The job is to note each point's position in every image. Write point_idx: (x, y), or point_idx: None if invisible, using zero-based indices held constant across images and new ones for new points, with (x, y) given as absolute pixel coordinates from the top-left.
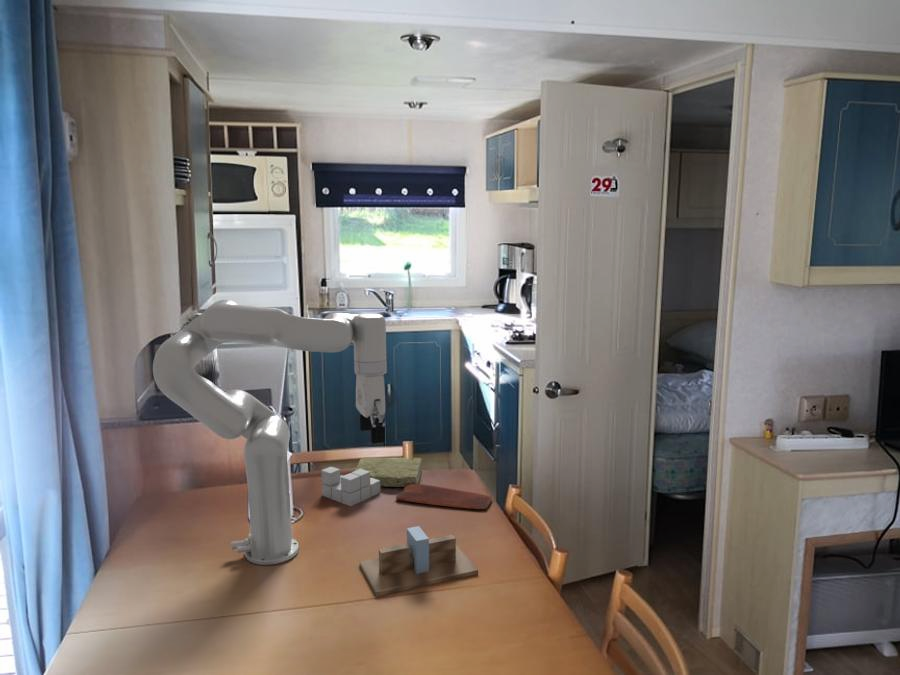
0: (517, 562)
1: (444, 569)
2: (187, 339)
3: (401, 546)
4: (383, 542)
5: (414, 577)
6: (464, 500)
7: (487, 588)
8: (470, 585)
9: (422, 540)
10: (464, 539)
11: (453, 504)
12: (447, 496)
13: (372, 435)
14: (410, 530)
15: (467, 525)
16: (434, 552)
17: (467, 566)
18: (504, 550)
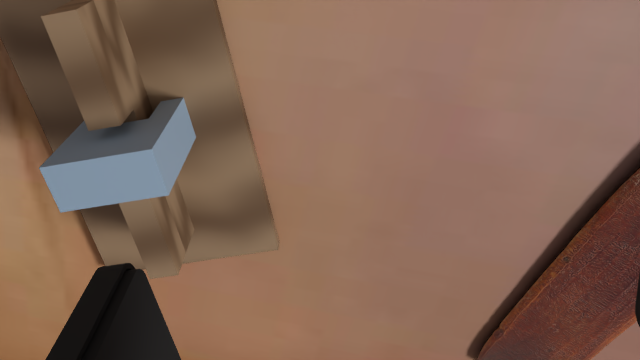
0: None
1: None
2: None
3: (97, 102)
4: (357, 30)
5: (67, 103)
6: (546, 327)
7: (40, 271)
8: (54, 238)
9: (51, 188)
10: (315, 273)
11: (537, 293)
12: (595, 290)
13: (64, 349)
14: (130, 160)
15: (401, 297)
16: None
17: (129, 254)
18: (232, 345)
